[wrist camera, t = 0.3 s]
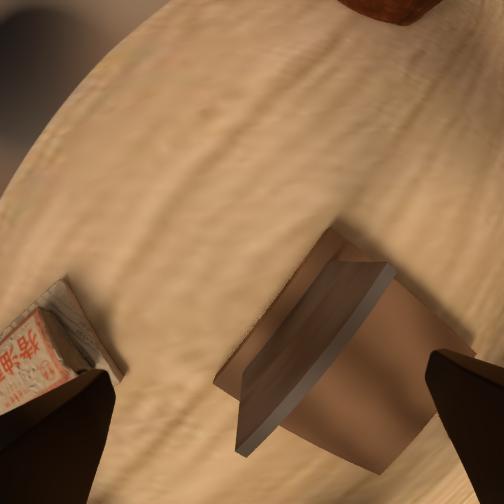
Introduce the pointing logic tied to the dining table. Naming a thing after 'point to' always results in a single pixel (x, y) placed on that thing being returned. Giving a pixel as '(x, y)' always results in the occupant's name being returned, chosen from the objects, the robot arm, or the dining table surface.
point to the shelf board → (339, 360)
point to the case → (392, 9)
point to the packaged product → (49, 348)
